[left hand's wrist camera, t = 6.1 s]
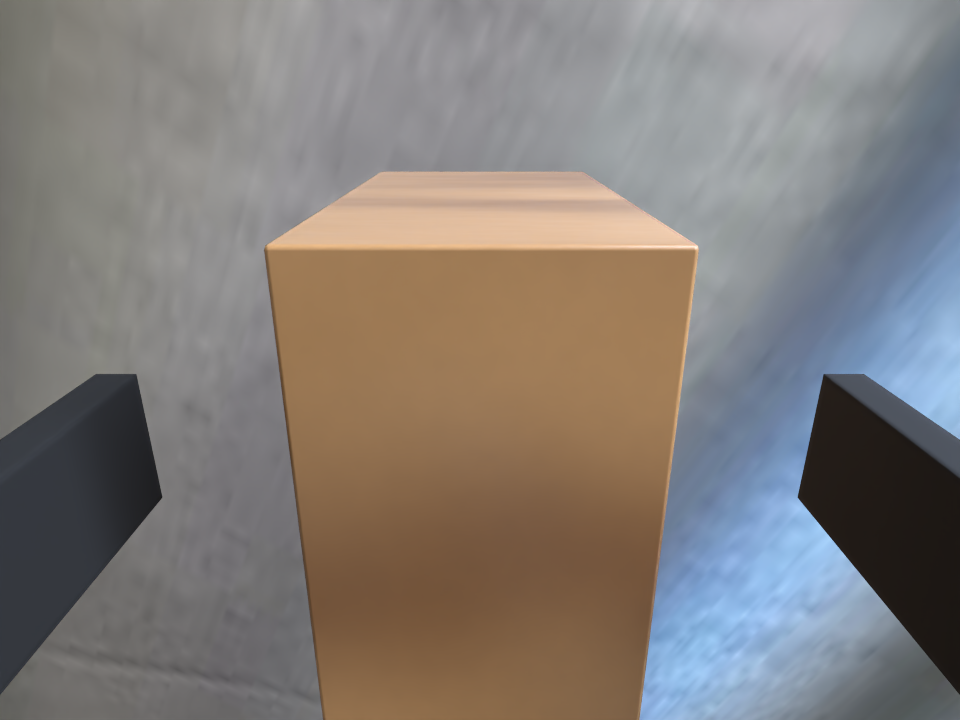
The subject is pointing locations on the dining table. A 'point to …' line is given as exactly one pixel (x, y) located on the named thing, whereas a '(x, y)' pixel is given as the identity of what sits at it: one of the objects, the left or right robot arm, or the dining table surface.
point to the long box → (481, 440)
